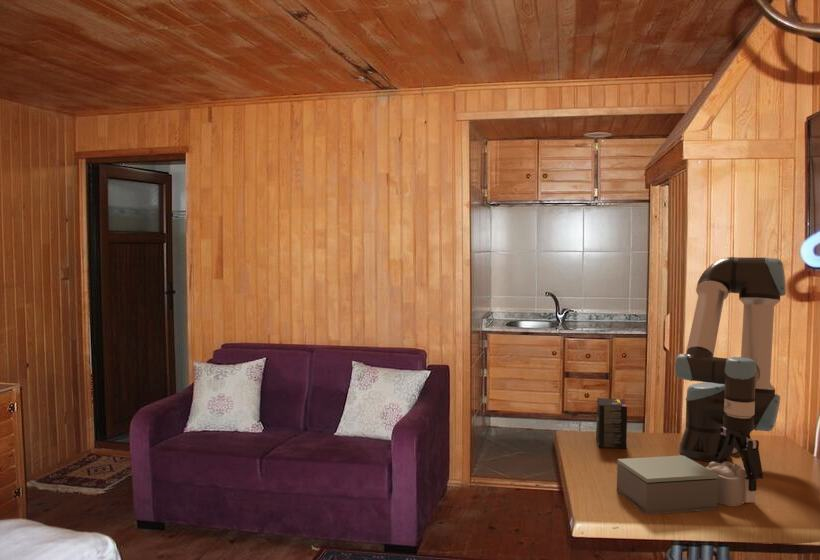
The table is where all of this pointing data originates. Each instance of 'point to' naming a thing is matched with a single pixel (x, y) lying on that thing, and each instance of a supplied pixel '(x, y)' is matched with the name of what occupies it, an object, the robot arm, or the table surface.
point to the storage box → (667, 493)
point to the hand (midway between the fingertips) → (735, 493)
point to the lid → (667, 469)
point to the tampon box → (611, 423)
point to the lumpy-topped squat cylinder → (729, 482)
